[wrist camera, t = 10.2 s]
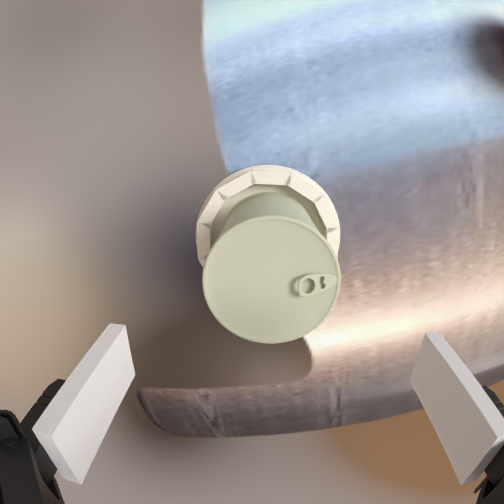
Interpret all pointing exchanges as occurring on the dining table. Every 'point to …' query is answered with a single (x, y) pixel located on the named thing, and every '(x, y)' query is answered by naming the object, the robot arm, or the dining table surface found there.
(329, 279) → the can
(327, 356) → the dining table surface
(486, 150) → the dining table surface
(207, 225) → the saucer
